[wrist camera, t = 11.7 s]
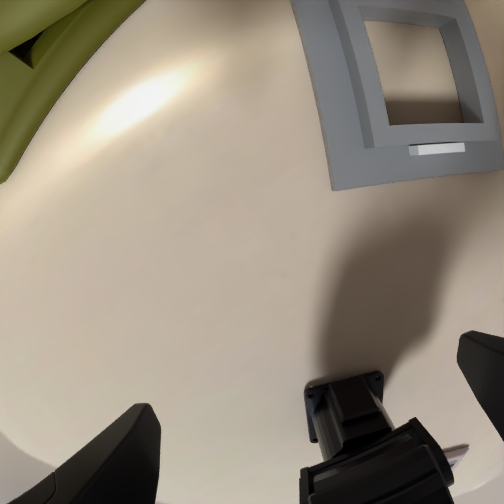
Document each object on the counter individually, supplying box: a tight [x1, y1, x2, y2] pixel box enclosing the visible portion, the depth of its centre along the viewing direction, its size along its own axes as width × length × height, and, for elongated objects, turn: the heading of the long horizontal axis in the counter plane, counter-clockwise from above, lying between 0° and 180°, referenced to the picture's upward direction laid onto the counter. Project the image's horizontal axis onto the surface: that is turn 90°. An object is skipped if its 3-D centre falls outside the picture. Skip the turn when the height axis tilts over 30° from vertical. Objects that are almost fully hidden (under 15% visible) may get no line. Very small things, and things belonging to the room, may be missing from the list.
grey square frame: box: [290, 0, 504, 191], centre depth 16 cm, size 15×15×2 cm
